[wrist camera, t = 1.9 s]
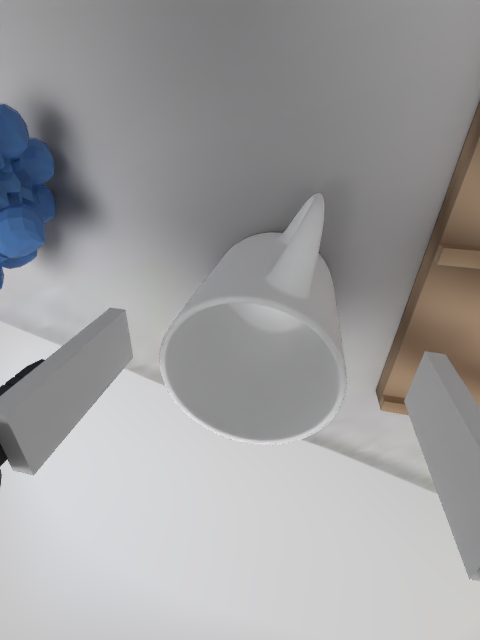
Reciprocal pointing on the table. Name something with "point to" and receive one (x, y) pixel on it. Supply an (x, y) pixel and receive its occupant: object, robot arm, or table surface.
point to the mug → (261, 339)
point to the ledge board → (444, 290)
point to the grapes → (22, 191)
